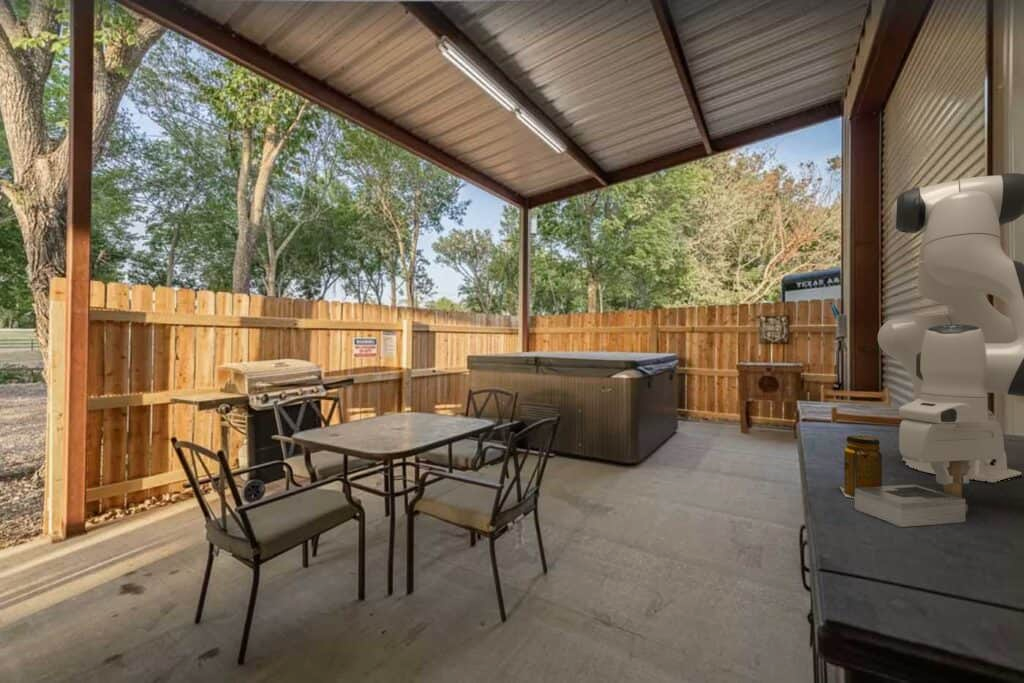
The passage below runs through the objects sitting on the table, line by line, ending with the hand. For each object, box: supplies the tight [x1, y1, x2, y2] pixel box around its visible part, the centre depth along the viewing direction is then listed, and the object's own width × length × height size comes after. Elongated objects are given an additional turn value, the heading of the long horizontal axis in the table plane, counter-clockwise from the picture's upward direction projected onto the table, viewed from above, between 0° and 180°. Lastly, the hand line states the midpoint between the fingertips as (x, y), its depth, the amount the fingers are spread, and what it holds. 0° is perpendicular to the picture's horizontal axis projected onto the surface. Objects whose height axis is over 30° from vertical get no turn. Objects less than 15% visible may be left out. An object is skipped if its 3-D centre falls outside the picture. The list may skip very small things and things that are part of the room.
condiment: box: [839, 435, 883, 499], centre depth 87 cm, size 7×8×12 cm
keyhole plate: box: [854, 483, 966, 528], centre depth 77 cm, size 14×8×4 cm, turn 101°
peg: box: [942, 461, 969, 516], centre depth 80 cm, size 4×4×10 cm
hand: (952, 483), depth 80 cm, fingers closed on peg, 2 cm apart
